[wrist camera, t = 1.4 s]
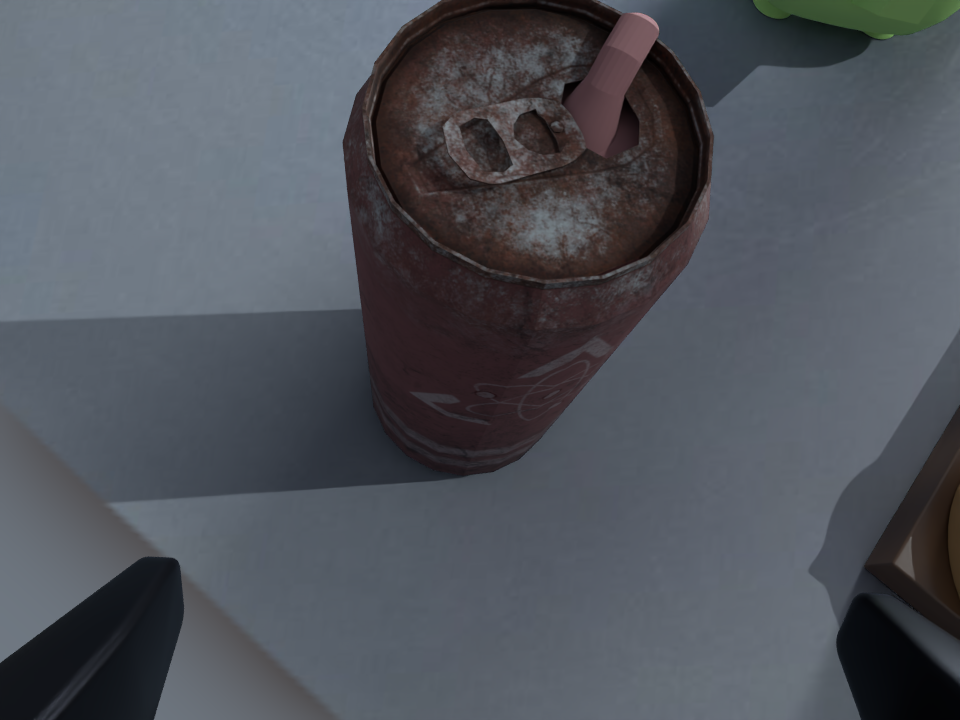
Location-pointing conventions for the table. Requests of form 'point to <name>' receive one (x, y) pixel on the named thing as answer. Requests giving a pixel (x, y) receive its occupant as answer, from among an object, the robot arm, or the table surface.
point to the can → (515, 214)
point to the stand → (927, 538)
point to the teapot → (865, 13)
